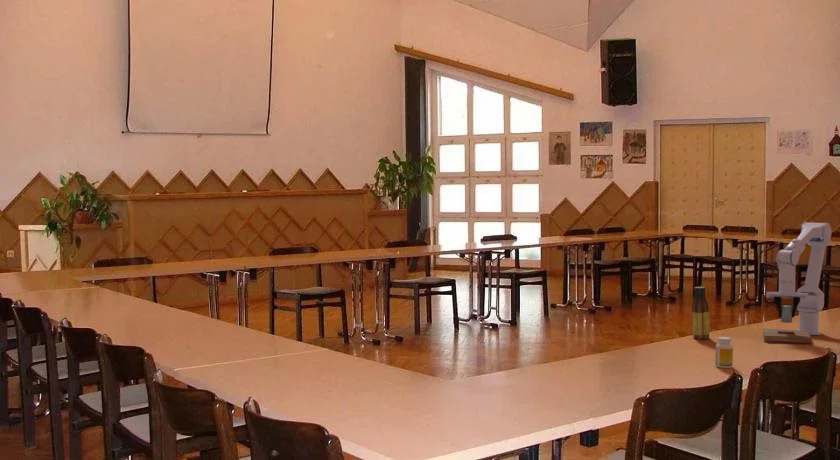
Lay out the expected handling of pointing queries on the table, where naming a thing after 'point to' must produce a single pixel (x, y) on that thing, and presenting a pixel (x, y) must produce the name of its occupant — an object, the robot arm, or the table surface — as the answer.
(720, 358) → the supplement bottle
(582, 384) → the table surface
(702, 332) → the sauce bottle
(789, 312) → the slate pin
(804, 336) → the walnut socket block
